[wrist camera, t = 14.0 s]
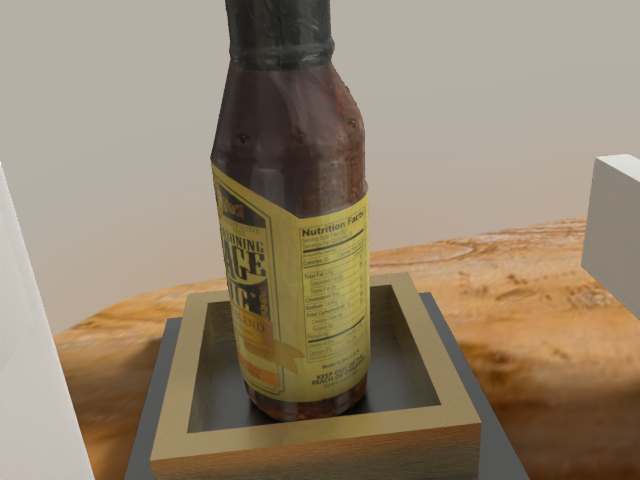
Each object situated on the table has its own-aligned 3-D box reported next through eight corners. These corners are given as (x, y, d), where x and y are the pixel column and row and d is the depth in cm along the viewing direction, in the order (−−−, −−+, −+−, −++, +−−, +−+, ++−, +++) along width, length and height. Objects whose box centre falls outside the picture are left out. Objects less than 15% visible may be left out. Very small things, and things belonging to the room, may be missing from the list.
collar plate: (429, 313, 37) (430, 255, 35) (539, 532, 22) (549, 451, 21) (171, 339, 36) (160, 281, 34) (111, 586, 22) (86, 506, 20)
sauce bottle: (237, 362, 31) (174, -63, 23) (351, 340, 32) (331, -72, 24) (254, 451, 25) (177, -77, 17) (393, 420, 26) (385, -88, 18)
